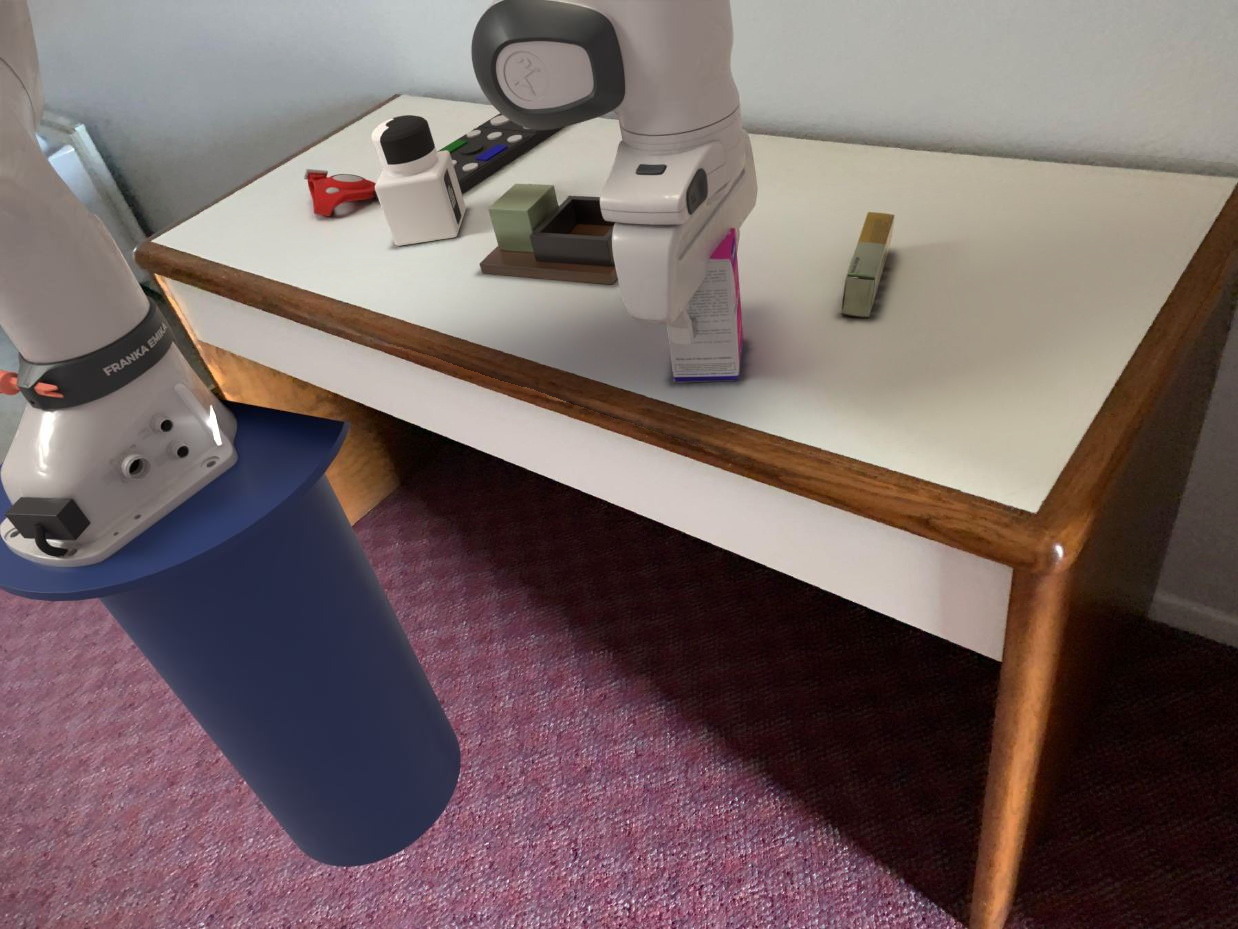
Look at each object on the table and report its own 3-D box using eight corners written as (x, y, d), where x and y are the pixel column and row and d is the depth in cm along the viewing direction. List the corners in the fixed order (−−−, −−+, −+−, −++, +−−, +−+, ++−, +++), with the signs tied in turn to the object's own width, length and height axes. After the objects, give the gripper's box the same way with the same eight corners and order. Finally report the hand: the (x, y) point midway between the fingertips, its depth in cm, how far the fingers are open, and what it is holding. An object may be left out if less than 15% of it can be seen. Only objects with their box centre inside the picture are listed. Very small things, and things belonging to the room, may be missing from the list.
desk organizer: (612, 284, 94) (600, 228, 90) (482, 273, 101) (466, 221, 97) (658, 228, 102) (650, 174, 98) (534, 221, 109) (522, 171, 105)
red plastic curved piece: (391, 175, 125) (354, 190, 116) (391, 207, 127) (355, 225, 119) (309, 159, 127) (267, 173, 118) (311, 192, 129) (270, 208, 121)
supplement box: (741, 381, 78) (729, 260, 71) (672, 383, 80) (653, 265, 72) (747, 342, 82) (735, 224, 75) (681, 345, 84) (663, 229, 76)
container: (467, 209, 115) (436, 104, 107) (457, 237, 109) (424, 129, 101) (407, 218, 116) (372, 115, 108) (394, 247, 110) (356, 140, 102)
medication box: (871, 319, 82) (875, 280, 79) (840, 315, 83) (843, 276, 80) (890, 249, 90) (895, 211, 87) (862, 246, 91) (866, 208, 88)
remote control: (580, 116, 133) (577, 102, 132) (435, 211, 116) (430, 196, 115) (522, 110, 139) (519, 97, 138) (376, 200, 122) (371, 186, 121)
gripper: (695, 95, 77) (714, 245, 86) (587, 211, 64) (622, 374, 73) (768, 93, 74) (780, 248, 83) (671, 215, 61) (697, 383, 70)
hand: (706, 308), depth 78 cm, fingers open, 8 cm apart
